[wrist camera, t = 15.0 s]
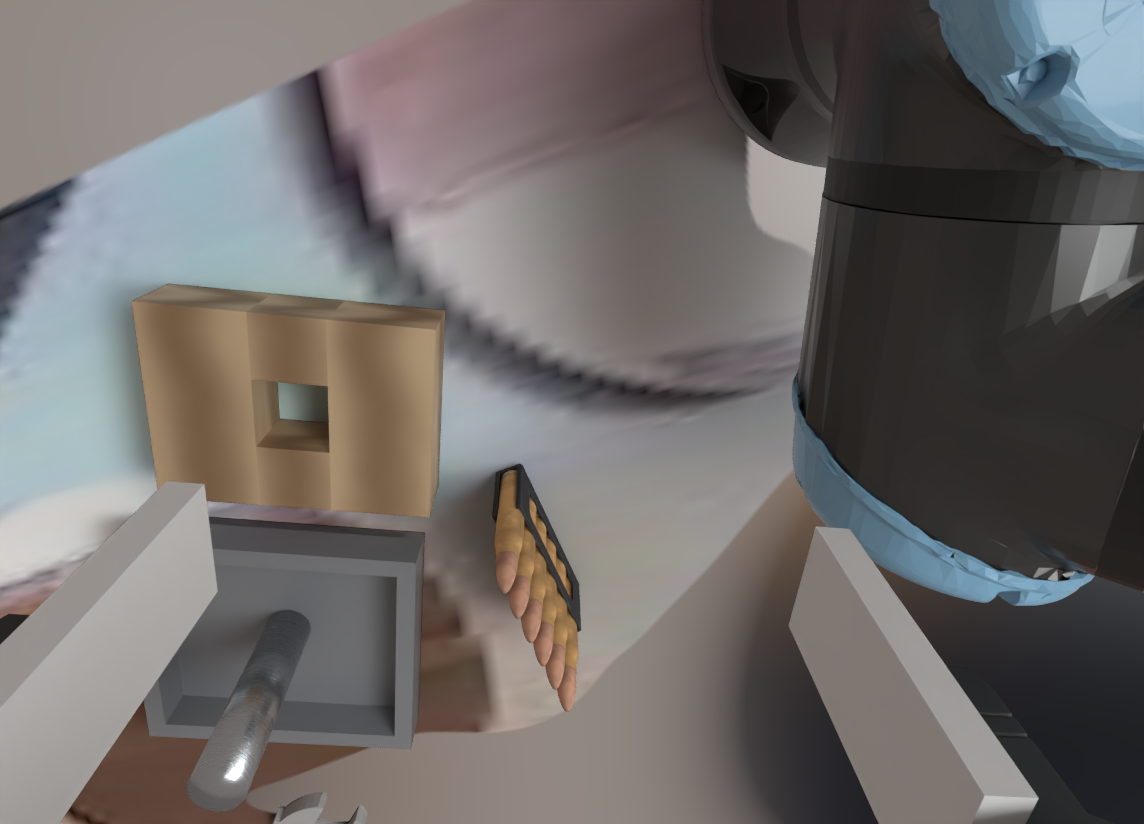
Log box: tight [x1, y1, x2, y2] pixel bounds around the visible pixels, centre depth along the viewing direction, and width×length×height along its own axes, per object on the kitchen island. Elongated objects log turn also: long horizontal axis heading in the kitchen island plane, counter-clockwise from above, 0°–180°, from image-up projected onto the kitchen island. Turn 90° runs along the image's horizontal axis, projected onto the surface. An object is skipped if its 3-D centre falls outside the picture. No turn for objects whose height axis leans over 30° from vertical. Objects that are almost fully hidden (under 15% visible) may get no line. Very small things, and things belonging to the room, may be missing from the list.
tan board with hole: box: [132, 284, 445, 517], centre depth 42 cm, size 16×12×4 cm
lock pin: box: [187, 610, 311, 811], centre depth 44 cm, size 3×3×14 cm
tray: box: [144, 517, 425, 749], centre depth 49 cm, size 18×16×4 cm
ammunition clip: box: [492, 464, 581, 712], centre depth 43 cm, size 11×2×12 cm, turn 21°
